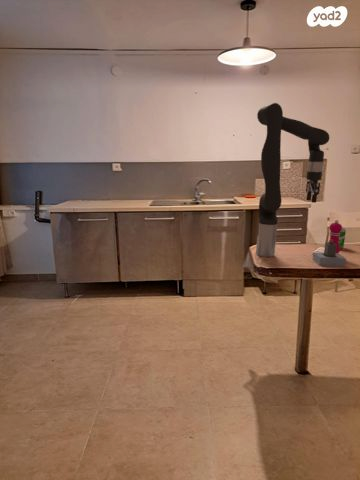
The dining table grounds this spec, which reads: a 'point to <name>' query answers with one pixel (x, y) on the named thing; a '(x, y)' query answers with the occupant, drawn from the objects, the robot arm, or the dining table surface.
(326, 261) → the socket box
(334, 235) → the pepper mill
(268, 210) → the robot arm
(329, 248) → the block
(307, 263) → the dining table surface
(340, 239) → the soda can
